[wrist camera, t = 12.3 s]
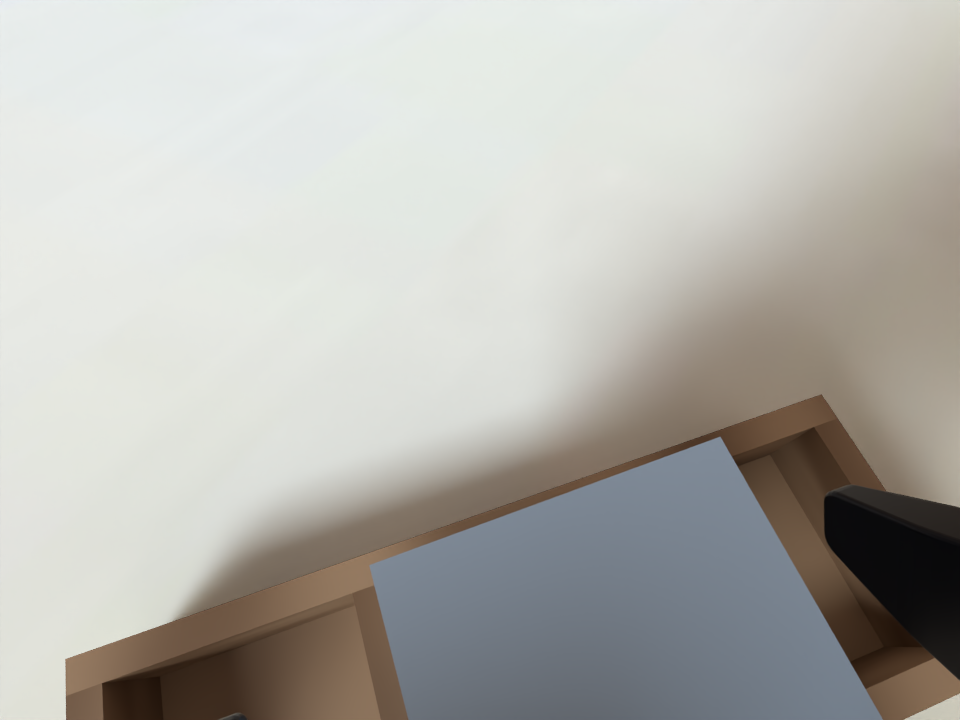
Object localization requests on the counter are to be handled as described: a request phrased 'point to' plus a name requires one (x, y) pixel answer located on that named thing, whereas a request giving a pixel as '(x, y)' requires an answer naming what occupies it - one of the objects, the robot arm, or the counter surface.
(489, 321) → the counter surface
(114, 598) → the counter surface
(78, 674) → the slot organizer
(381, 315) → the counter surface
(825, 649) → the plug block
